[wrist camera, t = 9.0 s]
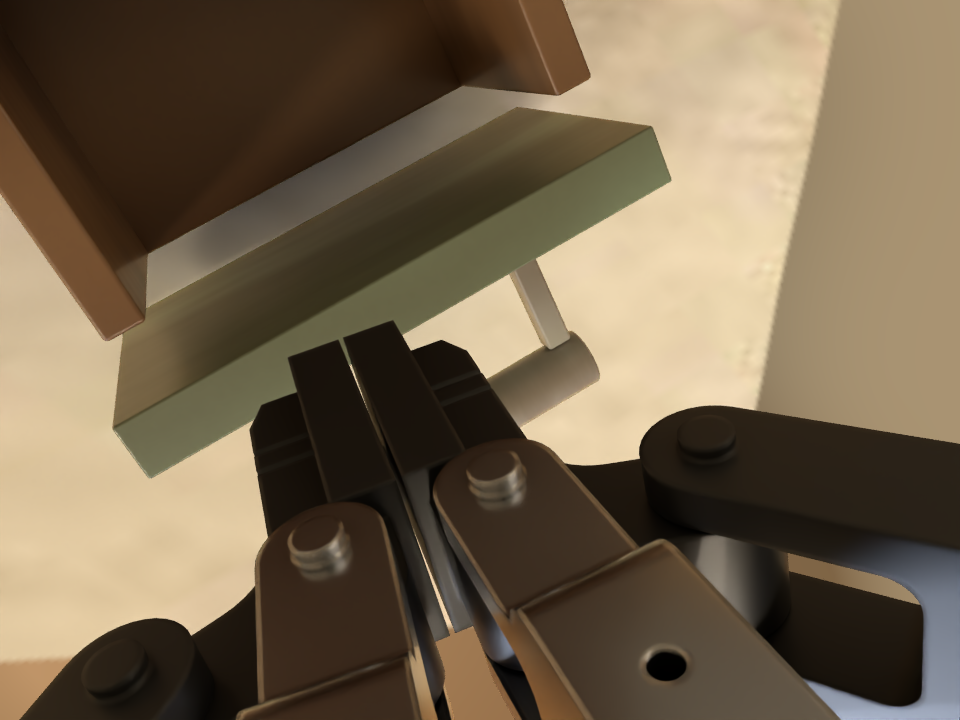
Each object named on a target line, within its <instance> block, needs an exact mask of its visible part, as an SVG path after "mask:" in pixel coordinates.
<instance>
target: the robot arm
mask: <svg viewBox="0 0 960 720" xmlns="http://www.w3.org/2000/svg"><path fill="white" fill-rule="evenodd" d="M343 340H344V343H345V346H346V349H347V352H348V355H349V358H350V361H351V364H352V367H353V370H354V372H355V375H356V378H357V381H358V384H359V387H360V390H361V392H362V395H363V398H364V400H363V398H362V396H361V393H360V391H359V388H358V386H357V383H356V381H355V378H354V376H353V374H352V371H351V369H350V366H349V364H348V361H347V359H346V356H345V354H344V352H343V349H342V347H341V344H340V342H339V340H335V341H332V342H329V343H326V344H323V345H321V346H318V347H315V348H312V349H309V350H306V351H304V352H301V353H298V354H295V355H292V356H289V357H287V358H288V362H289V365H290V369H291V372H292V376H293V380H294V383H295V387H296V390H297V392H295V393H293V394H290V395H287V396H284V397H281V398H279V399H276V400H273V401H270V402H268V403H265V404H262V405H261V407H260V409H259V411H258V413H257V415H256V417H255V419H254V421H253V424H252V426H251V428H250V436H251V442H252V447H253V453H254V455H255V457H254V459H255V465H256V471H257V473H258V482H259V488H260V494H261V500H262V505H263V511H264V517H265V523H266V529H267V534H268V538H267V540H266V541H265V542H264V544H263V545H262V547H261V549H260V550H259V552H258V555H257V558H256V561H255V587H254V588H253V589H252V590H251V591H250V592H249V593H248V595H247V596H246V597H245V598H244V599H243V600H241V601H240V602H239V603H238V604H237V605H236V606H235V607H233V608H232V609H231V610H229V611H228V612H227V613H225V614H224V615H222V616H221V617H219V618H218V619H216V620H215V621H213V622H212V623H210V624H209V625H207V626H206V627H204V628H203V629H201V630H200V631H198V632H197V633H195V634H193V635H192V636H191V635H190V633H189V632H188V630H187V629H186V628H185V627H184V626H183V625H181V624H179V623H177V622H175V621H172V620H168V619H159V618H153V619H144V620H139V621H135V622H131V623H129V624H126V625H123V626H120V627H118V628H116V629H114V630H112V631H109V632H107V633H106V634H104V635H102V636H101V637H99V638H97V639H96V640H94V641H93V642H92V643H90V644H89V645H87V646H86V647H85V648H84V649H82V650H81V651H80V652H79V653H78V654H77V655H76V656H74V657H73V658H72V660H71V661H70V662H69V663H68V664H67V665H66V666H65V667H64V668H63V669H62V671H61V672H60V673H59V674H58V675H57V676H56V678H55V679H54V680H53V681H52V682H51V683H50V685H49V686H48V687H47V688H46V689H45V691H44V692H43V693H42V694H41V695H40V696H39V698H38V699H37V700H36V701H35V702H34V703H33V705H32V706H31V707H30V708H29V709H28V711H27V712H26V713H25V714H24V715H23V717H22V718H21V719H20V720H455V719H454V715H453V711H452V707H451V703H450V700H449V697H448V694H447V692H446V689H445V686H444V680H445V670H444V667H443V663H442V660H441V657H440V654H439V651H438V649H437V646H436V643H435V642H436V641H438V640H441V639H443V638H445V637H448V636H450V634H449V631H448V628H447V625H446V622H445V620H444V617H443V614H442V611H441V608H440V605H439V602H438V599H437V597H436V594H435V591H434V588H433V585H432V582H431V579H430V576H429V573H428V571H427V568H426V565H425V562H424V559H423V556H422V553H421V550H420V548H419V545H418V542H419V544H420V547H421V549H422V552H423V554H424V557H425V559H426V562H427V564H428V567H429V569H430V572H431V574H432V576H433V579H434V581H435V584H436V586H437V589H438V591H439V594H440V596H441V599H442V601H443V604H444V606H445V609H446V611H447V614H448V616H449V618H450V621H451V623H452V626H453V628H454V631H455V633H457V632H459V631H462V630H464V629H466V628H469V627H471V626H473V627H474V629H475V631H476V634H477V636H478V638H479V641H480V643H481V645H482V648H483V651H484V654H485V658H486V661H487V664H488V667H489V670H490V673H491V676H492V678H493V681H494V683H495V685H496V687H497V688H498V690H499V692H500V694H501V696H502V698H503V699H504V701H505V703H506V704H507V707H508V708H509V710H510V712H511V714H512V716H513V718H514V719H515V720H960V444H957V443H950V442H945V441H939V440H933V439H926V438H920V437H914V436H908V435H902V434H896V433H890V432H883V431H877V430H871V429H865V428H858V427H853V426H847V425H840V424H834V423H828V422H822V421H815V420H809V419H803V418H798V417H791V416H785V415H779V414H773V413H767V412H761V411H755V410H749V409H742V408H736V407H729V406H701V407H695V408H689V409H685V410H682V411H679V412H676V413H674V414H671V415H669V416H667V417H665V418H663V419H662V420H660V421H658V422H657V423H656V424H655V425H653V426H652V427H651V428H650V429H649V430H648V431H647V432H646V434H645V435H644V437H643V439H642V440H641V444H640V447H639V456H640V459H636V460H629V461H623V462H617V463H610V464H603V465H588V466H581V465H570V464H565V463H564V462H563V461H562V460H561V459H560V458H559V457H558V456H557V455H556V453H555V452H554V451H552V450H551V449H550V448H549V447H547V446H545V445H544V444H542V443H539V442H536V441H533V440H528V439H527V438H526V437H525V435H524V434H523V432H522V431H521V429H520V428H519V426H518V425H517V423H516V422H515V421H514V419H513V418H512V416H511V415H510V413H509V412H508V410H507V409H506V407H505V406H504V404H503V403H502V401H501V400H500V399H499V397H498V396H497V394H496V393H495V391H494V390H493V388H492V389H491V386H490V384H489V382H488V381H487V379H486V378H485V377H484V375H483V374H482V373H481V372H480V369H479V368H478V366H477V365H476V363H475V362H474V360H473V359H472V357H471V356H470V355H469V353H468V352H467V351H466V350H464V349H462V348H459V347H457V346H455V345H452V344H450V343H448V342H445V341H443V340H440V341H437V342H434V343H431V344H428V345H426V346H423V347H420V348H417V349H415V350H412V351H411V350H410V349H409V347H408V345H407V343H406V342H405V340H404V338H403V336H402V334H401V333H400V331H399V329H398V327H397V325H396V324H395V322H394V321H393V320H391V321H388V322H385V323H383V324H380V325H377V326H374V327H371V328H368V329H366V330H363V331H360V332H357V333H354V334H351V335H349V336H346V337H343ZM364 401H365V403H364ZM365 404H366V405H365ZM366 407H367V408H366ZM367 409H368V410H367ZM368 412H369V413H368ZM414 532H415V533H414ZM415 534H416V536H415ZM416 537H417V539H418V542H417V539H416ZM787 553H790V554H795V555H799V556H803V557H807V558H811V559H815V560H819V561H823V562H827V563H831V564H835V565H839V566H843V567H847V568H851V569H855V570H859V571H863V572H867V573H871V574H875V575H879V576H882V577H885V578H888V579H891V580H893V581H895V582H897V583H899V584H900V585H902V586H903V587H905V588H906V589H908V590H909V591H910V592H911V593H912V594H913V595H914V596H915V597H916V599H917V600H918V601H919V603H920V605H917V604H913V603H909V602H906V601H902V600H898V599H894V598H890V597H887V596H883V595H879V594H875V593H871V592H867V591H863V590H860V589H856V588H852V587H848V586H844V585H840V584H836V583H833V582H829V581H824V580H821V579H817V578H813V577H810V576H806V575H801V574H798V573H794V572H790V571H789V567H788V554H787Z"/></svg>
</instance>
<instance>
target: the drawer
mask: <svg viewBox="0 0 960 720" xmlns="http://www.w3.org/2000/svg"><path fill="white" fill-rule="evenodd" d="M590 77H591V76H590V72H589V69H588V67H587V64H586V61H585V59H584V56H583V54H582V51H581V48H580V46H579V43H578V40H577V38H576V35H575V33H574V30H573V27H572V25H571V22H570V19H569V17H568V14H567V12H566V9H565V6H564V4H563V1H562V0H0V194H1V195H2V196H3V198H4V199H5V201H6V202H7V204H8V205H9V206H10V208H11V209H12V211H13V212H14V213H15V215H16V216H17V218H18V219H19V221H20V222H21V223H22V225H23V226H24V228H25V229H26V231H27V232H28V233H29V235H30V236H31V238H32V239H33V241H34V242H35V243H36V245H37V246H38V248H39V249H40V250H41V252H42V253H43V255H44V256H45V258H46V259H47V260H48V262H49V263H50V265H51V266H52V268H53V269H54V270H55V272H56V273H57V275H58V276H59V278H60V279H61V280H62V282H63V283H64V285H65V286H66V288H67V289H68V290H69V292H70V293H71V295H72V296H73V297H74V299H75V300H76V302H77V303H78V305H79V306H80V307H81V309H82V310H83V312H84V313H85V315H86V316H87V317H88V319H89V320H90V322H91V323H92V325H93V326H94V327H95V329H96V330H97V332H98V333H99V334H100V336H101V337H102V339H103V340H105V341H110V340H112V339H114V338H115V337H117V336H119V335H121V334H123V339H122V348H121V357H120V366H119V375H118V384H117V393H116V401H115V410H114V419H113V431H114V432H115V433H116V435H117V436H118V437H119V439H120V440H121V441H122V443H123V444H124V446H125V447H126V448H127V450H128V451H129V452H130V454H131V455H132V456H133V458H134V459H135V461H136V462H137V463H138V465H139V466H140V467H141V469H142V470H143V471H144V473H145V474H146V476H147V477H148V478H153V477H155V476H156V475H158V474H160V473H162V472H163V471H165V470H167V469H169V468H170V467H172V466H174V465H176V464H177V463H179V462H181V461H183V460H184V459H186V458H188V457H190V456H191V455H193V454H195V453H197V452H198V451H200V450H202V449H204V448H205V447H207V446H209V445H211V444H212V443H214V442H216V441H218V440H219V439H221V438H223V437H225V436H226V435H228V434H230V433H232V432H233V431H235V430H237V429H239V428H240V427H242V426H244V425H246V424H247V423H249V422H251V421H253V420H254V419H255V417H256V415H257V413H258V411H259V409H260V407H261V405H262V404H265V403H268V402H270V401H273V400H276V399H279V398H281V397H284V396H287V395H290V394H293V393H295V392H297V390H296V387H295V383H294V380H293V376H292V372H291V369H290V365H289V362H288V358H287V357H289V356H292V355H295V354H298V353H301V352H304V351H306V350H309V349H312V348H315V347H318V346H321V345H323V344H326V343H329V342H332V341H335V340H339V342H340V344H341V347H342V349H343V352H344V354H345V356H346V359H347V361H348V364H349V365H351V361H350V358H349V355H348V352H347V349H346V346H345V343H344V340H343V337H346V336H349V335H351V334H354V333H357V332H360V331H363V330H366V329H368V328H371V327H374V326H377V325H380V324H383V323H385V322H388V321H391V320H393V321H394V322H395V324H396V325H397V327H398V329H399V331H400V333H401V334H402V335H403V334H405V333H407V332H408V331H410V330H412V329H414V328H415V327H417V326H419V325H421V324H422V323H424V322H426V321H428V320H429V319H431V318H433V317H435V316H436V315H438V314H440V313H442V312H443V311H445V310H447V309H449V308H450V307H452V306H454V305H456V304H457V303H459V302H461V301H463V300H464V299H466V298H468V297H470V296H471V295H473V294H475V293H477V292H478V291H480V290H482V289H484V288H485V287H487V286H489V285H491V284H492V283H494V282H496V281H498V280H499V279H501V278H503V277H505V276H506V275H508V274H510V277H511V279H512V281H513V283H514V285H515V287H516V290H517V292H518V294H519V296H520V298H521V300H522V302H523V305H524V307H525V309H526V311H527V313H528V315H529V318H530V320H531V322H532V324H533V326H534V328H535V330H536V333H537V335H538V337H539V339H540V341H541V343H542V344H543V345H544V346H542V347H541V348H539V349H537V350H536V351H534V352H532V353H531V354H529V355H527V356H525V357H524V358H522V359H520V360H519V361H517V362H515V363H514V364H512V365H510V366H508V367H507V368H505V369H503V370H502V371H500V372H498V373H496V374H495V375H493V376H491V377H490V378H488V379H487V381H488V382H489V384H490V386H491V389H492V388H493V390H494V391H495V393H496V394H497V396H498V397H499V399H500V400H501V401H502V403H503V404H504V406H505V407H506V409H507V410H508V412H509V413H510V415H511V416H512V418H513V419H514V421H515V422H516V423H517V425H518V426H519V428H520V427H522V426H523V425H525V424H527V423H529V422H530V421H532V420H534V419H535V418H537V417H539V416H540V415H542V414H544V413H545V412H547V411H549V410H550V409H552V408H554V407H555V406H557V405H559V404H560V403H562V402H564V401H565V400H567V399H569V398H570V397H572V396H574V395H575V394H577V393H579V392H580V391H582V390H584V389H585V388H587V387H589V386H590V385H592V384H594V383H595V382H597V381H598V380H599V379H600V373H599V369H598V366H597V364H596V362H595V360H594V358H593V356H592V354H591V352H590V351H589V349H588V347H587V346H586V345H585V343H584V342H583V341H582V339H581V338H580V337H579V336H578V335H577V334H576V333H574V332H573V331H568V330H567V328H566V326H565V324H564V321H563V319H562V317H561V315H560V312H559V310H558V308H557V306H556V303H555V301H554V299H553V297H552V295H551V292H550V290H549V288H548V286H547V283H546V281H545V279H544V277H543V274H542V272H541V270H540V268H539V265H538V263H537V261H536V258H538V257H540V256H541V255H543V254H545V253H547V252H548V251H550V250H552V249H554V248H555V247H557V246H559V245H561V244H562V243H564V242H566V241H568V240H569V239H571V238H573V237H575V236H576V235H578V234H580V233H582V232H583V231H585V230H587V229H588V228H590V227H592V226H594V225H595V224H597V223H599V222H601V221H602V220H604V219H606V218H608V217H609V216H611V215H613V214H615V213H616V212H618V211H620V210H622V209H623V208H625V207H627V206H629V205H630V204H632V203H634V202H636V201H637V200H639V199H641V198H643V197H644V196H646V195H648V194H650V193H651V192H653V191H655V190H657V189H658V188H660V187H662V186H664V185H665V184H667V183H669V182H670V181H671V177H670V174H669V171H668V169H667V166H666V163H665V160H664V157H663V155H662V152H661V149H660V146H659V144H658V141H657V138H656V135H655V132H654V130H653V127H652V126H647V125H640V124H633V123H626V122H619V121H612V120H605V119H598V118H591V117H584V116H577V115H571V114H564V113H557V112H550V111H543V110H536V109H529V108H522V107H516V108H514V109H512V110H511V111H509V112H507V113H505V114H503V115H501V116H499V117H498V118H496V119H494V120H492V121H490V122H488V123H487V124H485V125H483V126H481V127H479V128H477V129H476V130H474V131H472V132H470V133H468V134H466V135H465V136H463V137H461V138H459V139H457V140H455V141H453V142H452V143H450V144H448V145H446V146H444V147H442V148H441V149H439V150H437V151H435V152H433V153H431V154H430V155H428V156H426V157H424V158H422V159H420V160H419V161H417V162H415V163H413V164H411V165H409V166H407V167H406V168H404V169H402V170H400V171H398V172H396V173H395V174H393V175H391V176H389V177H387V178H385V179H384V180H382V181H380V182H378V183H376V184H374V185H372V186H371V187H369V188H367V189H365V190H363V191H361V192H360V193H358V194H356V195H354V196H352V197H350V198H349V199H347V200H345V201H343V202H341V203H339V204H338V205H336V206H334V207H332V208H330V209H328V210H326V211H325V212H323V213H321V214H319V215H317V216H315V217H314V218H312V219H310V220H308V221H306V222H304V223H303V224H301V225H299V226H297V227H295V228H293V229H292V230H290V231H288V232H286V233H284V234H282V235H280V236H279V237H277V238H275V239H273V240H271V241H269V242H268V243H266V244H264V245H262V246H260V247H258V248H257V249H255V250H253V251H251V252H249V253H247V254H245V255H244V256H242V257H240V258H238V259H236V260H234V261H233V262H231V263H229V264H227V265H225V266H223V267H222V268H220V269H218V270H216V271H214V272H212V273H211V274H209V275H207V276H205V277H203V278H201V279H199V280H198V281H196V282H194V283H192V284H190V285H188V286H187V287H185V288H183V289H181V290H179V291H177V292H176V293H174V294H172V295H170V296H168V297H166V298H165V299H163V300H161V301H159V302H157V303H155V304H153V305H152V306H150V307H148V308H146V287H147V258H148V254H149V253H151V252H152V251H154V250H156V249H158V248H160V247H162V246H164V245H166V244H167V243H169V242H171V241H173V240H175V239H177V238H179V237H181V236H182V235H184V234H186V233H188V232H190V231H192V230H194V229H196V228H197V227H199V226H201V225H203V224H205V223H207V222H209V221H210V220H212V219H214V218H216V217H218V216H220V215H222V214H224V213H225V212H227V211H229V210H231V209H233V208H235V207H237V206H239V205H240V204H242V203H244V202H246V201H248V200H250V199H252V198H254V197H255V196H257V195H259V194H261V193H263V192H265V191H267V190H268V189H270V188H272V187H274V186H276V185H278V184H280V183H282V182H283V181H285V180H287V179H289V178H291V177H293V176H295V175H297V174H298V173H300V172H302V171H304V170H306V169H308V168H310V167H312V166H313V165H315V164H317V163H319V162H321V161H323V160H325V159H326V158H328V157H330V156H332V155H334V154H336V153H338V152H340V151H341V150H343V149H345V148H347V147H349V146H351V145H353V144H355V143H356V142H358V141H360V140H362V139H364V138H366V137H368V136H370V135H371V134H373V133H375V132H377V131H379V130H381V129H383V128H384V127H386V126H388V125H390V124H392V123H394V122H396V121H398V120H399V119H401V118H403V117H405V116H407V115H409V114H411V113H413V112H414V111H416V110H418V109H420V108H422V107H424V106H426V105H428V104H429V103H431V102H433V101H435V100H437V99H439V98H441V97H442V96H444V95H446V94H448V93H450V92H452V91H454V90H456V89H457V88H459V87H461V86H467V87H477V88H487V89H497V90H507V91H516V92H526V93H536V94H546V95H556V96H557V95H561V94H563V93H565V92H566V91H568V90H570V89H572V88H574V87H576V86H577V85H579V84H581V83H583V82H585V81H587V80H588V79H589V78H590Z"/></svg>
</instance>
